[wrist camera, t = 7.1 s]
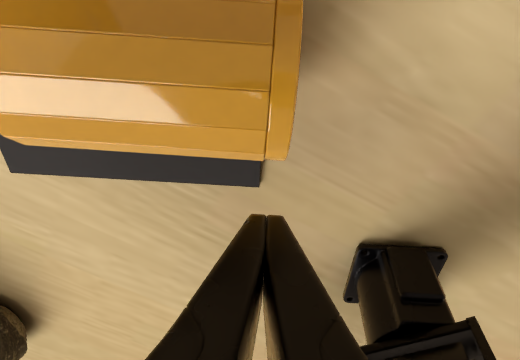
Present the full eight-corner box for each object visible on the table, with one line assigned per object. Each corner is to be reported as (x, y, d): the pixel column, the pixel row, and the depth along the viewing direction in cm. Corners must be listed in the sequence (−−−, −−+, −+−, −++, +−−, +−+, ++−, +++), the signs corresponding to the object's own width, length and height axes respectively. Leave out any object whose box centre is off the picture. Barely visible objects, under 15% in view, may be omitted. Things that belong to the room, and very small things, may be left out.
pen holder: (284, 196, 15) (7, 178, 15) (282, 113, 21) (84, 99, 21) (309, -4, 10) (-85, -32, 10) (297, -38, 16) (46, -56, 16)
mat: (259, 183, 24) (259, 187, 24) (14, 169, 24) (10, 172, 24) (282, -213, 13) (282, -216, 13) (-162, -239, 13) (-173, -242, 13)
